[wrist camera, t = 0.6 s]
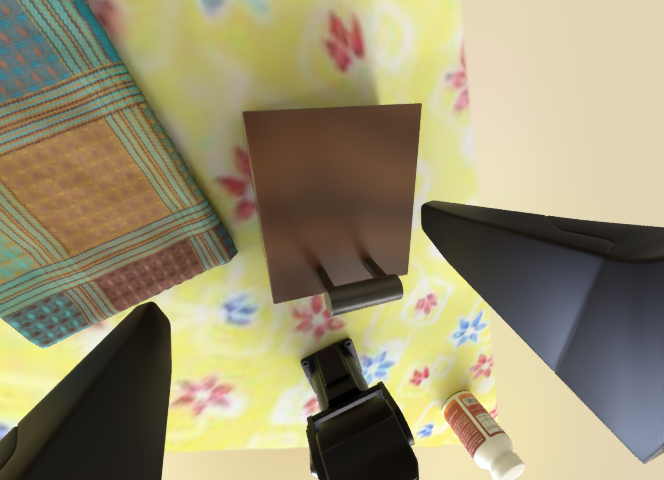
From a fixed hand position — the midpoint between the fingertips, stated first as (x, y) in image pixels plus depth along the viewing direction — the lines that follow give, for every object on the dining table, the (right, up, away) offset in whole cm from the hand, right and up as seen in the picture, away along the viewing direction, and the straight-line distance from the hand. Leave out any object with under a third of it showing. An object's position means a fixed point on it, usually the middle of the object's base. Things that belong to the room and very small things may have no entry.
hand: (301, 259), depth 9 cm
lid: (+2, +3, +11) cm, 12 cm away
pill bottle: (+22, -27, +39) cm, 52 cm away
